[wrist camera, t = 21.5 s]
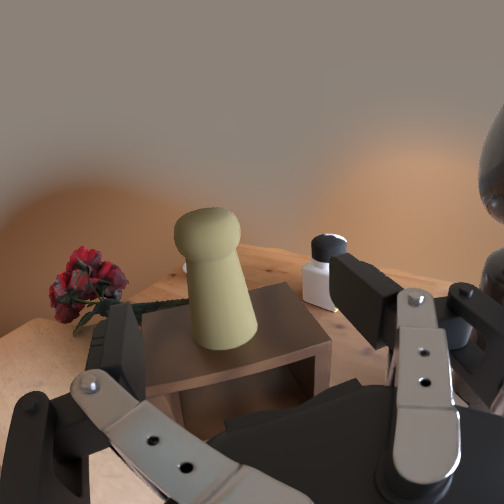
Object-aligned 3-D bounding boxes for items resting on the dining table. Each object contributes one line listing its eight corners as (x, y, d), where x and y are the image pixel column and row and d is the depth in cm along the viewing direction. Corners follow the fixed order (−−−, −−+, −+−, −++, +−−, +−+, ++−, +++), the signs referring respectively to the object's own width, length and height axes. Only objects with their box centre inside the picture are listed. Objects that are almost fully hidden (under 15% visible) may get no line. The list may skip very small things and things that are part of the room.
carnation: (221, 374, 53) (77, 337, 62) (239, 276, 60) (98, 262, 69) (184, 368, 39) (27, 319, 48) (212, 239, 46) (55, 232, 55)
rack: (291, 376, 41) (286, 281, 35) (324, 435, 32) (332, 339, 25) (177, 405, 38) (141, 313, 32) (188, 473, 28) (140, 388, 22)
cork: (264, 311, 30) (251, 198, 26) (248, 353, 25) (228, 224, 21) (205, 307, 32) (185, 202, 27) (181, 345, 27) (150, 226, 22)
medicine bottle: (335, 313, 53) (336, 249, 48) (302, 301, 58) (299, 240, 53) (354, 294, 58) (356, 234, 53) (323, 284, 62) (322, 227, 58)
